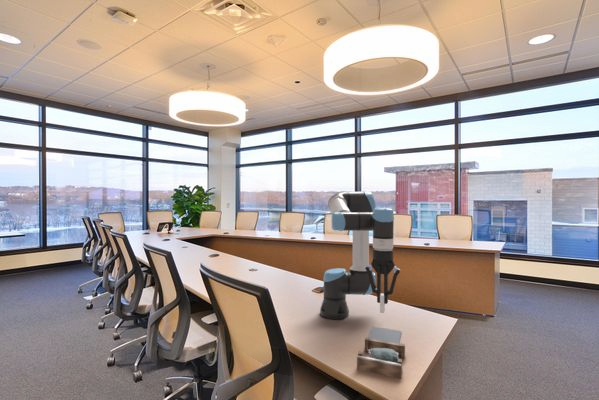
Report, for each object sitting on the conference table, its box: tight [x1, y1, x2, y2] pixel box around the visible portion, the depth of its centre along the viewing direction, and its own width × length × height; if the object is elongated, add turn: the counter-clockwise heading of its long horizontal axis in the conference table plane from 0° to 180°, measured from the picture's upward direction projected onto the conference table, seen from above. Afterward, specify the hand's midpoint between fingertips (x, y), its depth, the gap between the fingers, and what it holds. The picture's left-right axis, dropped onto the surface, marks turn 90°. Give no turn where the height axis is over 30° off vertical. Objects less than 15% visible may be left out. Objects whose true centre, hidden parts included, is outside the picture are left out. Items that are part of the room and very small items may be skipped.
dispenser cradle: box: [356, 336, 406, 379], centre depth 116 cm, size 15×18×5 cm
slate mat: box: [367, 326, 402, 344], centre depth 137 cm, size 13×16×1 cm
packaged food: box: [367, 348, 404, 366], centre depth 114 cm, size 9×12×5 cm
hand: (382, 311), depth 117 cm, fingers closed
